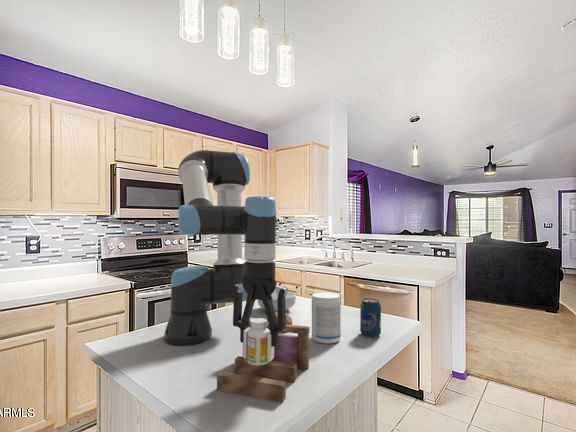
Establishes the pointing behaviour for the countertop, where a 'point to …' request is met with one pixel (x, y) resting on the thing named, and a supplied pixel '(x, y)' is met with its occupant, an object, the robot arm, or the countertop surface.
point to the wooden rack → (270, 368)
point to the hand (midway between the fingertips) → (258, 357)
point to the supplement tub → (326, 317)
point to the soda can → (370, 318)
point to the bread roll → (288, 319)
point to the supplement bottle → (257, 342)
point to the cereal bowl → (289, 300)
